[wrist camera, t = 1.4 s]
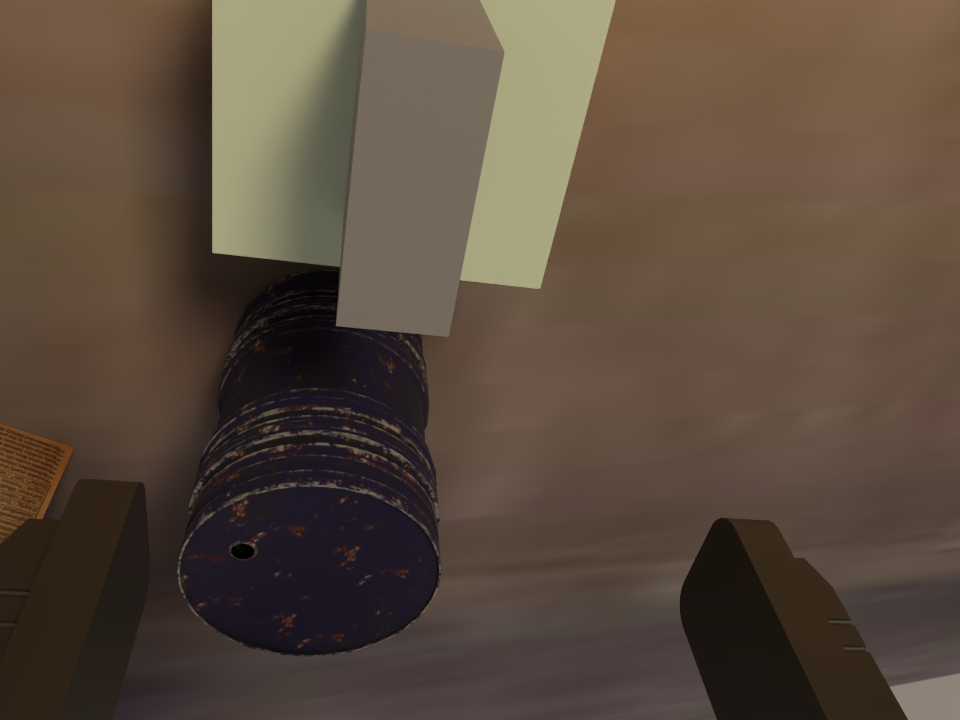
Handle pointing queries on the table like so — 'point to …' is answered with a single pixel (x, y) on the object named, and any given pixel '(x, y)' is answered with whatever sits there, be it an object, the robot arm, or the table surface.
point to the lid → (399, 142)
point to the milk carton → (27, 476)
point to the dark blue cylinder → (314, 482)
